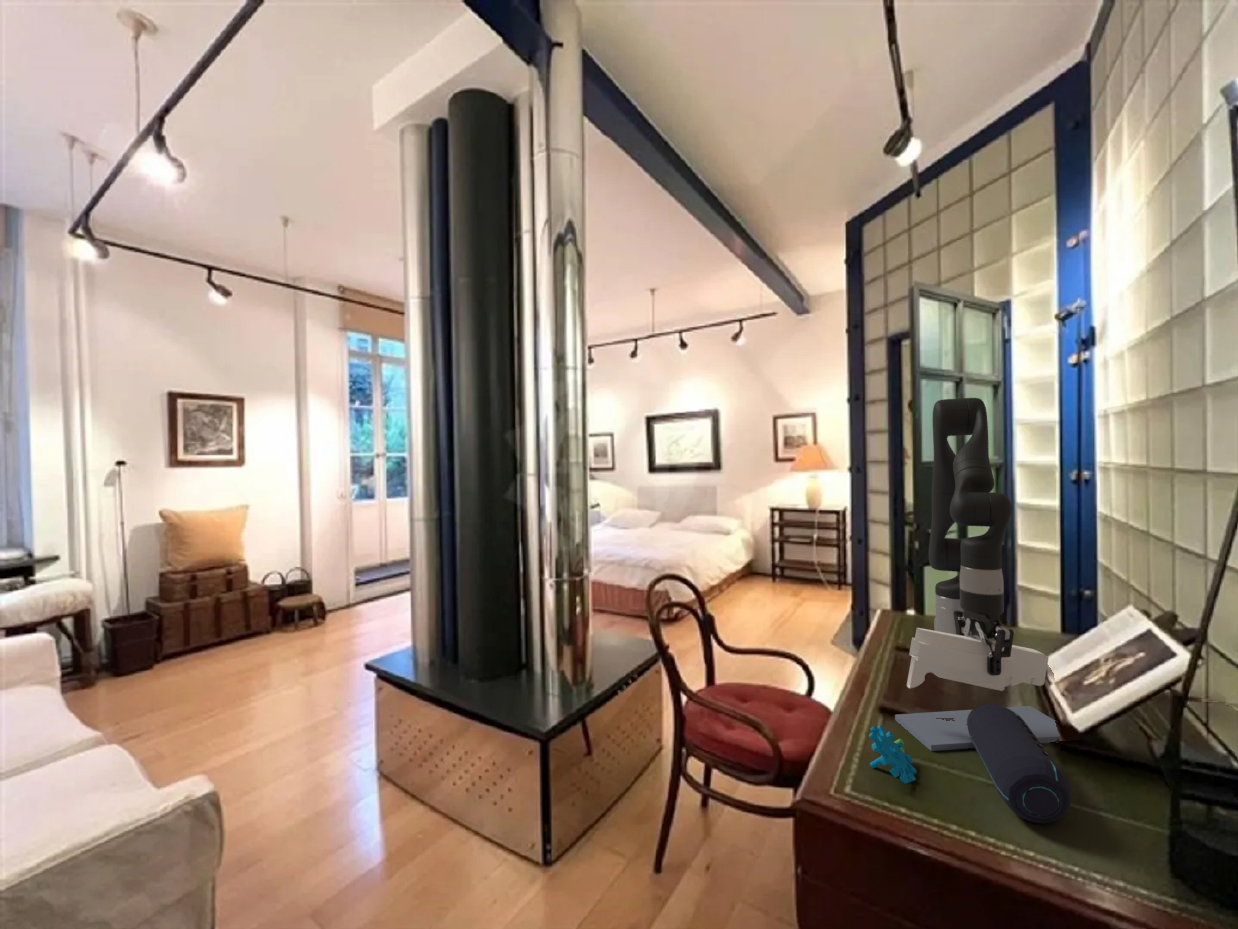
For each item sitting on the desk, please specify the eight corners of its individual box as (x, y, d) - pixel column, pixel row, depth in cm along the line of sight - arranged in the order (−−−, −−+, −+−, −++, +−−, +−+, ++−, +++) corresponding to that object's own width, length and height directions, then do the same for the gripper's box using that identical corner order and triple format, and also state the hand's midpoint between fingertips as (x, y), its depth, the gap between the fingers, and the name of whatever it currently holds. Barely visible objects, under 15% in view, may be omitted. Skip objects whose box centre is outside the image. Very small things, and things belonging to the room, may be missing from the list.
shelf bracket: (902, 682, 113) (912, 624, 113) (1024, 706, 111) (1034, 648, 111) (914, 692, 108) (924, 632, 108) (1042, 718, 106) (1053, 657, 106)
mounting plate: (895, 720, 115) (895, 714, 115) (1029, 711, 117) (1029, 706, 117) (931, 751, 103) (931, 745, 103) (1080, 740, 105) (1080, 735, 105)
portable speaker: (1083, 842, 79) (1082, 776, 78) (1003, 827, 82) (1002, 764, 82) (1022, 751, 102) (1021, 700, 102) (962, 742, 106) (961, 693, 105)
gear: (909, 788, 89) (867, 731, 95) (882, 803, 92) (843, 746, 98) (927, 768, 97) (887, 716, 103) (902, 782, 100) (865, 731, 105)
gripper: (1027, 596, 102) (1028, 682, 102) (973, 579, 116) (974, 654, 117) (990, 598, 102) (991, 684, 102) (940, 580, 116) (941, 656, 116)
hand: (982, 668), depth 109 cm, fingers closed on shelf bracket, 5 cm apart
